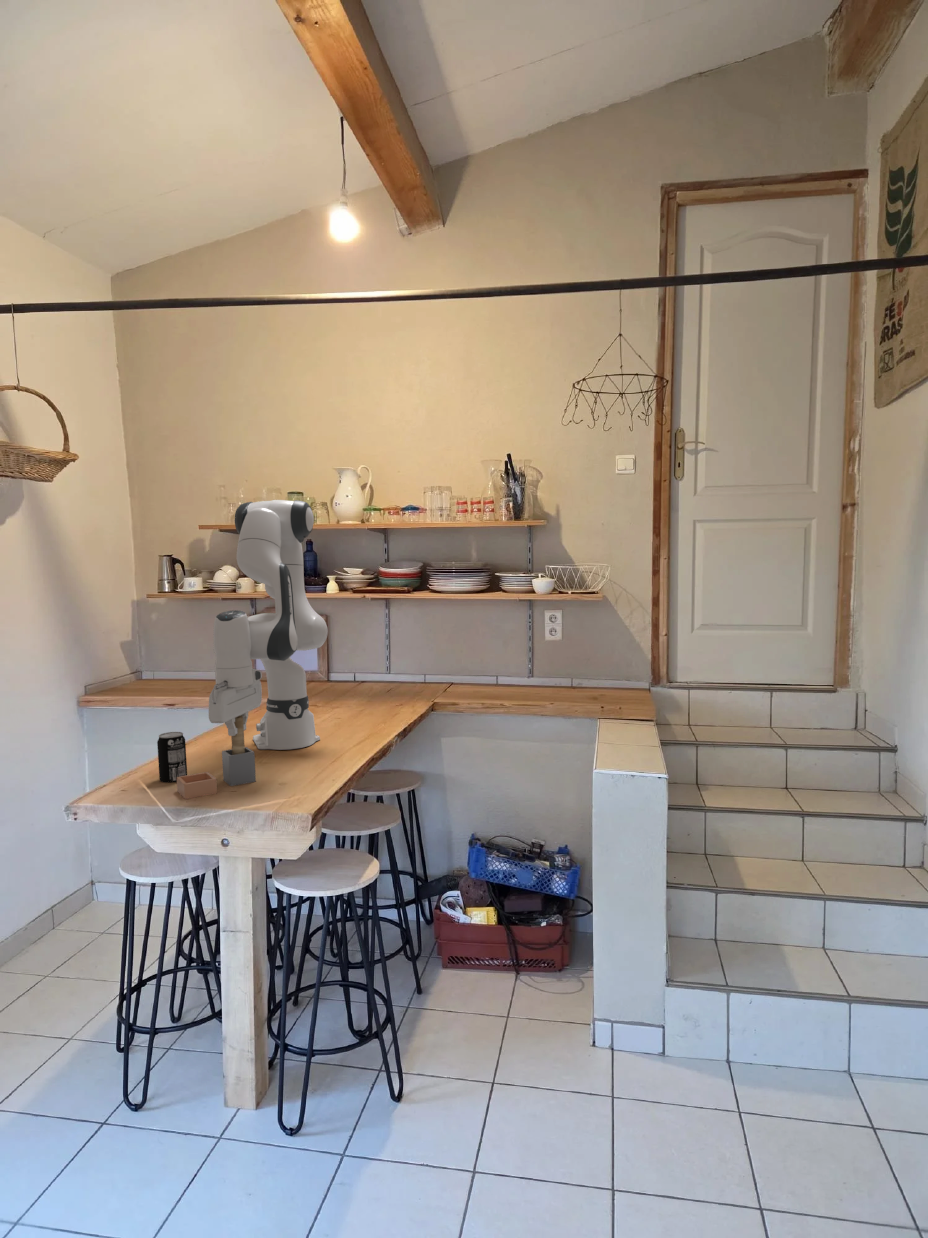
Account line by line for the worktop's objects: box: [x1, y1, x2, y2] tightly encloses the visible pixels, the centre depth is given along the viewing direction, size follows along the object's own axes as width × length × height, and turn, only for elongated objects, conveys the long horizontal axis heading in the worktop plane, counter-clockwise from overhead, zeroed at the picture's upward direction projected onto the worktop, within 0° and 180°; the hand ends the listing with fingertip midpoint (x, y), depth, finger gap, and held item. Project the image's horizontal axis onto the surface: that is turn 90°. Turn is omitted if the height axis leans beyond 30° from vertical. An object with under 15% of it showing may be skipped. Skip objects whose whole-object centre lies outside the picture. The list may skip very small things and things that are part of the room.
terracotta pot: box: [176, 771, 218, 800], centre depth 187 cm, size 7×7×4 cm
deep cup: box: [221, 746, 257, 787], centre depth 195 cm, size 6×6×8 cm
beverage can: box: [156, 731, 188, 784], centre depth 198 cm, size 7×7×12 cm
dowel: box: [230, 716, 246, 755], centre depth 195 cm, size 3×3×14 cm
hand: (237, 733), depth 194 cm, fingers closed on dowel, 3 cm apart
